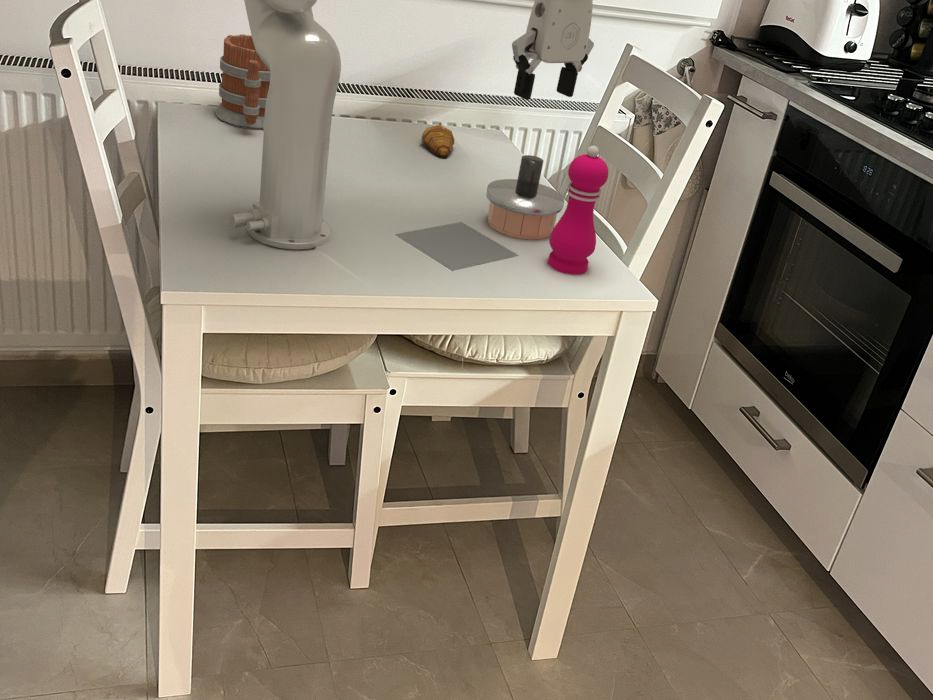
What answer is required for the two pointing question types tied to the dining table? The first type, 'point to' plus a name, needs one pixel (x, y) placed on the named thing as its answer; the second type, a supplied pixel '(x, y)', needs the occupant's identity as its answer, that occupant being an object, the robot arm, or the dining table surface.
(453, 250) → the mat
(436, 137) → the croissant
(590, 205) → the pepper mill
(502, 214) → the bowl
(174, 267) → the dining table surface
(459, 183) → the dining table surface
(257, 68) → the mug
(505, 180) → the lid
